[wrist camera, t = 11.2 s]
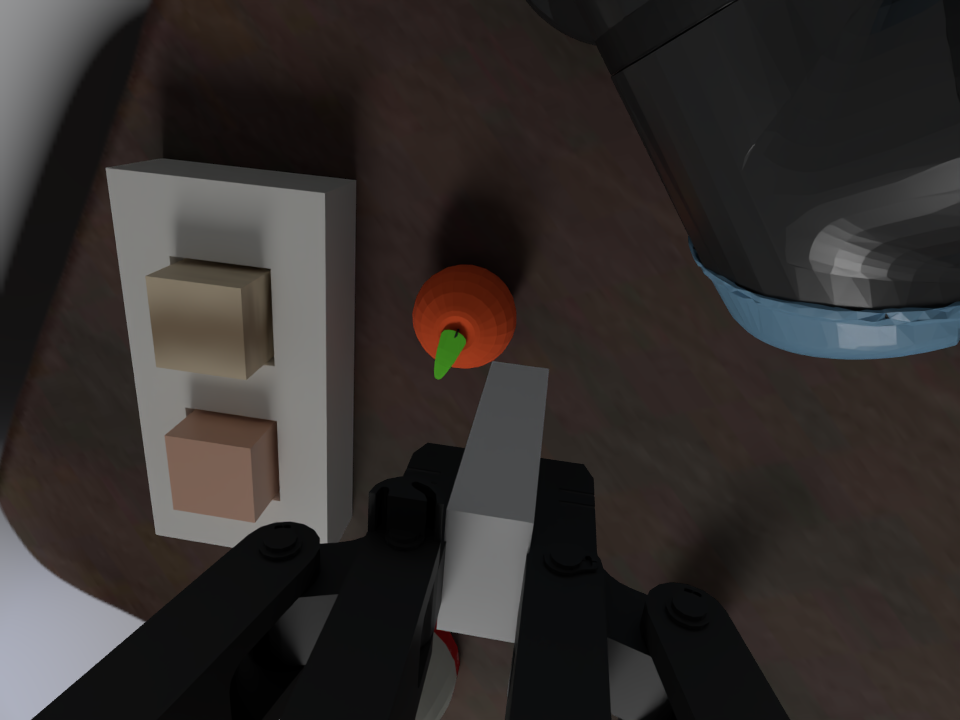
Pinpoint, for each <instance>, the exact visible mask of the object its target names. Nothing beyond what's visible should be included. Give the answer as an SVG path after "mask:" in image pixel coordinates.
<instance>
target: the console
mask: <svg viewBox="0 0 960 720" xmlns="http://www.w3.org/2000/svg"><path fill="white" fill-rule="evenodd" d="M106 174H107V181H108V188H109V196H110V203H111V210H112V218H113V225H114V232H115V239H116V247H117V254H118V261H119V269H120V276H121V283H122V291H123V298H124V305H125V312H126V320H127V327H128V334H129V342H130V349H131V356H132V364H133V371H134V378H135V385H136V393H137V400H138V407H139V415H140V422H141V429H142V437H143V444H144V451H145V458H146V466H147V473H148V480H149V488H150V495H151V502H152V509H153V517H154V524H155V531H156V535H162V536H168V537H173V538H179V539H185V540H191V541H197V542H203V543H209V544H215V545H221V546H227V547H234V546H236V545H237V544H238V543H239V542H240V541H241V540H243V539H244V538H245V537H246V536H247V535H248V534H250V533H252V532H253V531H255V530H256V529H258V528H260V527H262V526H265V525H268V524H272V523H275V522H290V521H291V522H296V523H301V524H305V525H307V526H308V527H310V528H312V529H314V530H315V532H316V533H317V535H318V536H319V538H320V544H322V543H337V542H339V541H340V539H341V537H342V535H343V533H344V531H345V529H346V527H347V525H348V523H349V522H350V520H351V518H352V494H353V410H354V327H355V244H356V180H351V179H342V178H333V177H324V176H315V175H306V174H297V173H288V172H280V171H271V170H262V169H253V168H244V167H235V166H226V165H218V164H209V163H200V162H191V161H182V160H173V159H164V158H161V159H155V160H150V161H144V162H138V163H132V164H126V165H120V166H114V167H108V168H106ZM185 258H190V259H198V260H206V261H214V262H222V263H229V264H237V265H245V266H253V267H261V268H269V269H271V290H272V314H273V338H274V356H273V357H272V358H271V359H270V360H269V361H267V362H266V363H265V364H264V365H263V366H262V367H261V368H259V369H258V370H257V371H256V372H255V373H254V374H253V375H252V376H250V377H249V378H248V379H247V380H242V379H235V378H228V377H221V376H214V375H207V374H200V373H193V372H186V371H179V370H172V369H166V368H159V367H156V361H155V353H154V345H153V337H152V328H151V320H150V312H149V304H148V295H147V287H146V279H145V276H146V275H149V274H151V273H153V272H155V271H158V270H160V269H162V268H165V267H167V266H169V265H172V264H174V263H176V262H178V261H181V260H183V259H185ZM195 409H200V410H206V411H213V412H220V413H226V414H233V415H240V416H246V417H253V418H260V419H266V420H273V421H277V434H278V458H279V482H280V490H279V491H278V493H277V494H276V495H275V497H274V498H273V499H272V501H271V502H270V503H269V505H268V506H267V507H266V509H265V510H264V512H263V513H262V514H261V516H260V517H259V518H258V520H257V521H256V522H255V523H252V522H246V521H240V520H234V519H228V518H222V517H216V516H210V515H204V514H198V513H191V512H185V511H179V510H173V502H172V493H171V485H170V477H169V469H168V460H167V452H166V444H165V436H164V435H166V434H167V433H168V432H169V431H170V430H172V429H173V428H174V427H175V426H176V425H177V424H179V423H180V422H181V421H182V420H183V419H185V418H186V417H187V416H188V415H189V414H191V413H192V412H193V411H194V410H195Z"/></svg>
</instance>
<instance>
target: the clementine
mask: <svg viewBox="0 0 960 720" xmlns="http://www.w3.org/2000/svg"><path fill="white" fill-rule="evenodd" d="M413 326H414V329H415V333H416V336H417V338H418V340H419V341H420V343H421V345H422V346H423V348H424V349H425V351H426V352H427V353H429V354H430V355H431V356H432V357H433V358H434V359H435V367H434V376H435V378H437V379H441V378H442V377H443V376H444V375H445V374H446V372H447V371H448V370H449V369H450V367H454V368H473V367H478V366H483V365H485V364H487V363H489V362H491V361H493V360H494V359H495V358H497V357H498V356H499V355H500V354H501V353H502V352H503V351H504V350H505V348H506V347H507V345H508V344H509V342H510V340H511V339H512V337H513V334H514V331H515V327H516V308H515V304H514V300H513V296H512V294H511V293H510V291H509V289H508V287H507V286H506V284H505V283H504V282H503V281H502V280H501V279H500V278H499V277H498V276H497V275H495V274H494V273H492V272H490V271H489V270H487V269H485V268H482V267H478V266H475V265H455V266H451V267H447V268H445V269H443V270H442V271H440V272H438V273H436V274H434V275H433V276H431V277H430V278H429V279H428V280H427V281H426V282H425V283H424V284H423V286H422V288H421V289H420V291H419V293H418V295H417V297H416V300H415V305H414V309H413Z"/></svg>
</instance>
